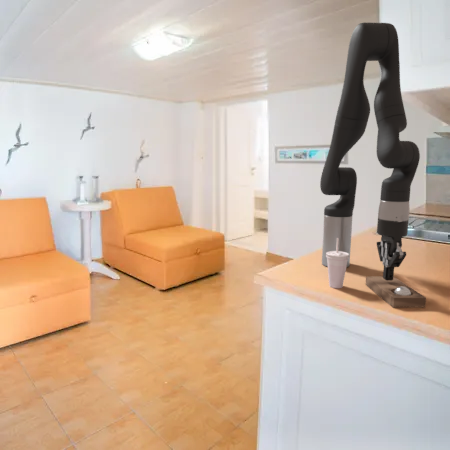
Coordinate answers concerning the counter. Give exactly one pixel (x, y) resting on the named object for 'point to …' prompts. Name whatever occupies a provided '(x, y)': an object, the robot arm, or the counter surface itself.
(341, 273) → the smoothie
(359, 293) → the counter surface
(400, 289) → the ball
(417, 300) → the brown ball holder
